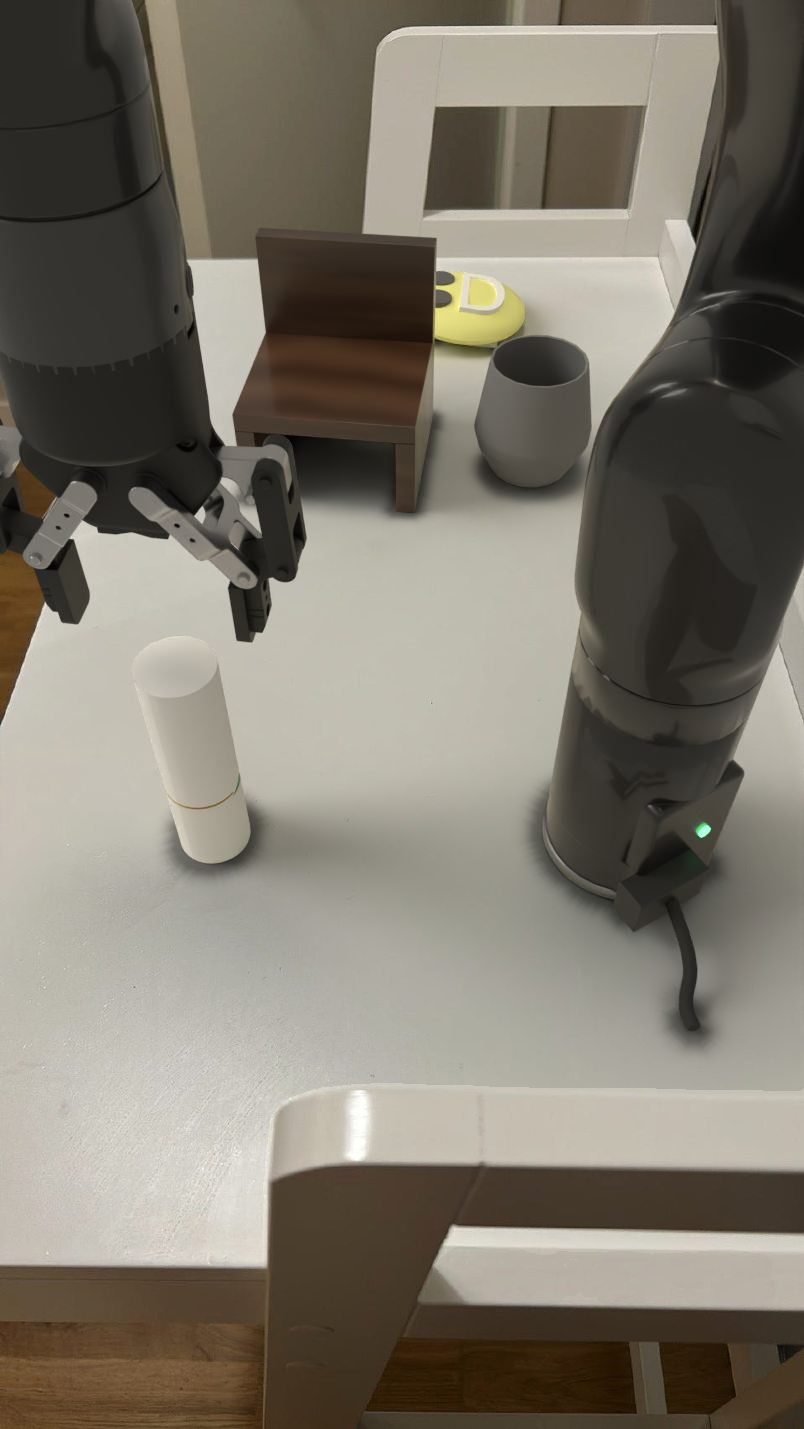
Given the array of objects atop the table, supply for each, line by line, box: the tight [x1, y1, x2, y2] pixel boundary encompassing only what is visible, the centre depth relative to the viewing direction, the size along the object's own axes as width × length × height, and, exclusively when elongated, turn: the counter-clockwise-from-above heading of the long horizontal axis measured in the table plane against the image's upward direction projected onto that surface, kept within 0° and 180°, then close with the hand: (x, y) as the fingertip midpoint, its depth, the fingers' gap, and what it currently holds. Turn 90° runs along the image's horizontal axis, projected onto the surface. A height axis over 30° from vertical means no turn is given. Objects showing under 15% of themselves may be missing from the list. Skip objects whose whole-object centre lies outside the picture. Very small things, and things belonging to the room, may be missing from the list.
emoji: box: [435, 270, 526, 349], centre depth 101 cm, size 4×12×12 cm
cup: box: [473, 334, 593, 489], centre depth 84 cm, size 10×9×10 cm
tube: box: [131, 635, 252, 864], centre depth 58 cm, size 4×4×15 cm
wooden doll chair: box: [231, 227, 438, 513], centre depth 83 cm, size 14×14×16 cm
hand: (163, 621), depth 50 cm, fingers open, 8 cm apart
